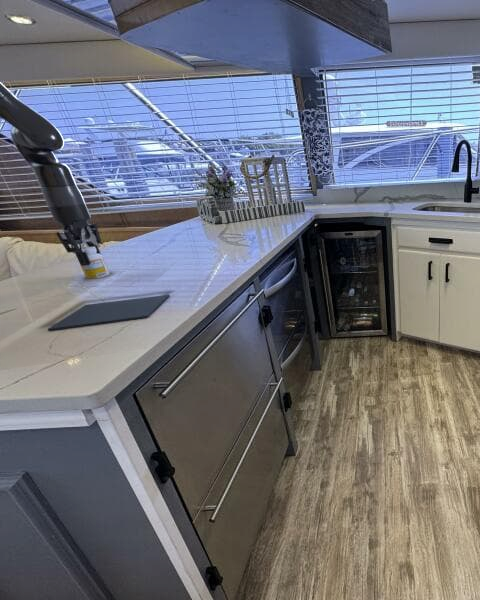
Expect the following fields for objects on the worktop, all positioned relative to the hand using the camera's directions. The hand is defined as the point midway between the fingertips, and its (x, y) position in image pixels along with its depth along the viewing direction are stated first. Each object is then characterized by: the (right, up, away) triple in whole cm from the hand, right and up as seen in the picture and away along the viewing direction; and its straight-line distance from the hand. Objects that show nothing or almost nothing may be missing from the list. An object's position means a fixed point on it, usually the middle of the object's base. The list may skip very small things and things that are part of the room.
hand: (92, 262), depth 95 cm
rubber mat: (+26, -14, -21) cm, 36 cm away
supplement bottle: (0, -5, +2) cm, 6 cm away
